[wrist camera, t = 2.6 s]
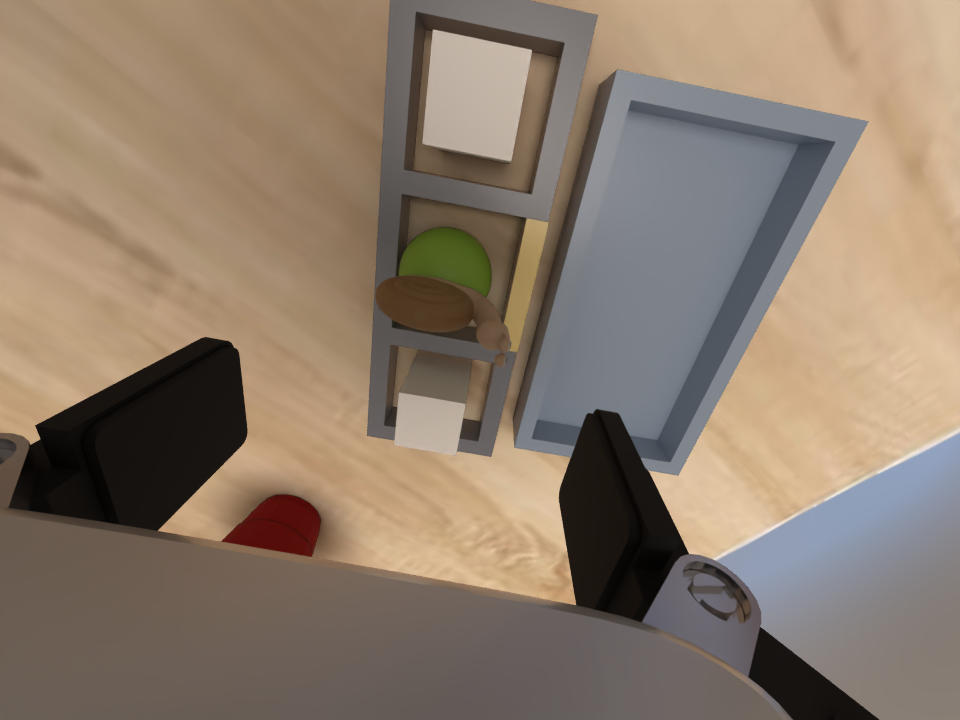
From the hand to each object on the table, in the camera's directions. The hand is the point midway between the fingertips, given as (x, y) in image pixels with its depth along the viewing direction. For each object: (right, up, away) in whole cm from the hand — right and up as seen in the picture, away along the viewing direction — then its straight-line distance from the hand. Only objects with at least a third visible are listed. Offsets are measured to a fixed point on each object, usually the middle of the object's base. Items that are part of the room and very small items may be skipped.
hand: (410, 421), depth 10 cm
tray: (+12, +6, +15) cm, 20 cm away
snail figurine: (0, +8, +15) cm, 17 cm away
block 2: (+2, +15, +11) cm, 19 cm away
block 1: (-1, 0, +19) cm, 19 cm away
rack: (0, +8, +15) cm, 17 cm away
